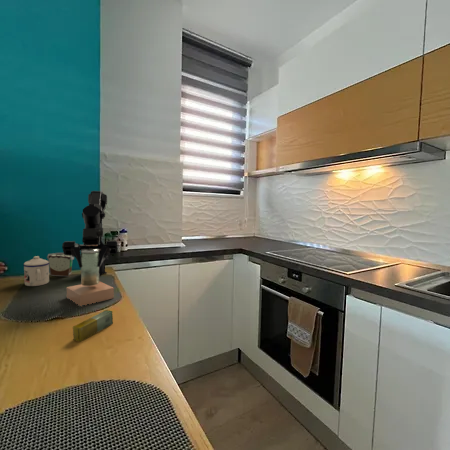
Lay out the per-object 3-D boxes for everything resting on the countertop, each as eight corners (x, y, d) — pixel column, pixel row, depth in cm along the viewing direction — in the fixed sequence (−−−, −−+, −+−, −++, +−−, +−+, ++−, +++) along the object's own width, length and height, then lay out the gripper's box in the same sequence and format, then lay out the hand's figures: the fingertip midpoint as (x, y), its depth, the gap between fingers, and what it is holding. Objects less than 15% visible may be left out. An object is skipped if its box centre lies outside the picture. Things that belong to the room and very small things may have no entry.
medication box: (106, 322, 84) (106, 309, 83) (113, 323, 83) (113, 310, 82) (72, 340, 72) (72, 326, 72) (80, 342, 71) (80, 327, 71)
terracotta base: (98, 290, 111) (98, 280, 111) (113, 298, 103) (113, 287, 103) (66, 297, 102) (66, 287, 101) (80, 306, 94) (80, 295, 94)
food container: (80, 273, 134) (79, 253, 134) (71, 276, 128) (71, 255, 127) (56, 271, 136) (56, 251, 135) (47, 275, 129) (46, 254, 129)
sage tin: (89, 280, 106) (89, 247, 105) (103, 281, 104) (103, 249, 103) (76, 284, 100) (76, 250, 99) (91, 286, 98) (90, 251, 97)
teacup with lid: (23, 282, 118) (22, 255, 117) (48, 279, 123) (47, 253, 122) (25, 289, 108) (24, 260, 107) (52, 286, 114) (51, 258, 113)
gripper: (62, 219, 100) (56, 255, 91) (117, 220, 107) (117, 253, 98) (66, 237, 108) (61, 272, 99) (117, 237, 115) (117, 269, 106)
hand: (89, 266), depth 100 cm, fingers closed on sage tin, 6 cm apart
